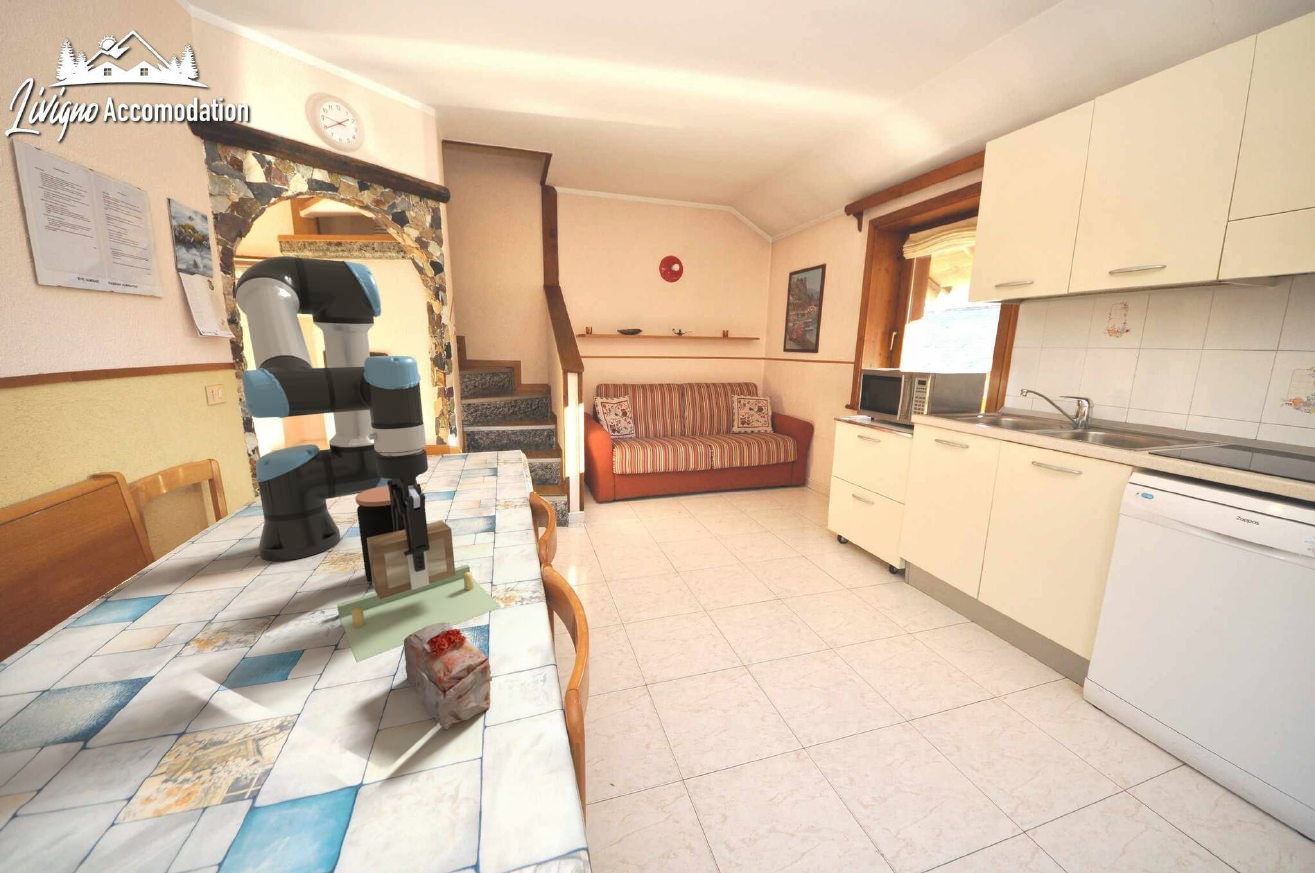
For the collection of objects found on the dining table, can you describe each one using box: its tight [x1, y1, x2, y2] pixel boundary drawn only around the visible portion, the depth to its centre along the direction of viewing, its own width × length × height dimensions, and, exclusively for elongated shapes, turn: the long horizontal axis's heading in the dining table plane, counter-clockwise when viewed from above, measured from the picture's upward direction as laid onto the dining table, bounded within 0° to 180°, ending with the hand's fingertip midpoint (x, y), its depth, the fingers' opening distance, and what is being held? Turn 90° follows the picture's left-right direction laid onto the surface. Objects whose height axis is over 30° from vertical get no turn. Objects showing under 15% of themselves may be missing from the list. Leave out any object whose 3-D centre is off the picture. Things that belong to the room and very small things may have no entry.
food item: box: [403, 622, 493, 731], centre depth 63 cm, size 14×8×10 cm, turn 50°
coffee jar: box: [354, 486, 394, 583], centre depth 95 cm, size 11×11×18 cm
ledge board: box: [336, 564, 502, 663], centre depth 82 cm, size 16×22×4 cm
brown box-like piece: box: [367, 519, 456, 599], centre depth 82 cm, size 5×12×9 cm, turn 132°
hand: (415, 579), depth 82 cm, fingers closed on brown box-like piece, 5 cm apart
